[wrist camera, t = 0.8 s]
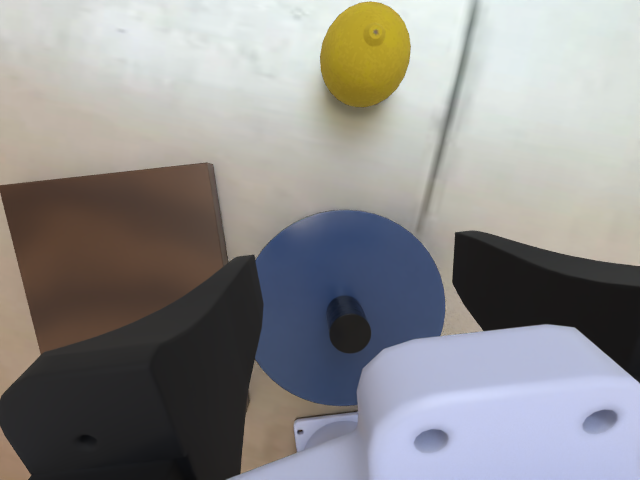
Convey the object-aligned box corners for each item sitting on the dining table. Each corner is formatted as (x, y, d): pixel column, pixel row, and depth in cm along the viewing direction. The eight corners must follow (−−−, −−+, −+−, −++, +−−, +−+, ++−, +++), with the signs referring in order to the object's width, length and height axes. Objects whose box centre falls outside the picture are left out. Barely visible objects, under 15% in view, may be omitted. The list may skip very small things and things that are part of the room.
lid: (444, 384, 25) (474, 427, 21) (258, 407, 25) (247, 455, 20) (433, 198, 23) (463, 200, 19) (230, 220, 23) (211, 229, 18)
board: (249, 401, 29) (246, 412, 28) (73, 422, 29) (60, 435, 28) (212, 163, 26) (207, 162, 25) (15, 185, 26) (-2, 185, 25)
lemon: (306, 97, 26) (305, 58, 18) (338, 25, 25) (351, -49, 17) (372, 130, 26) (399, 105, 18) (404, 60, 26) (447, 4, 18)
